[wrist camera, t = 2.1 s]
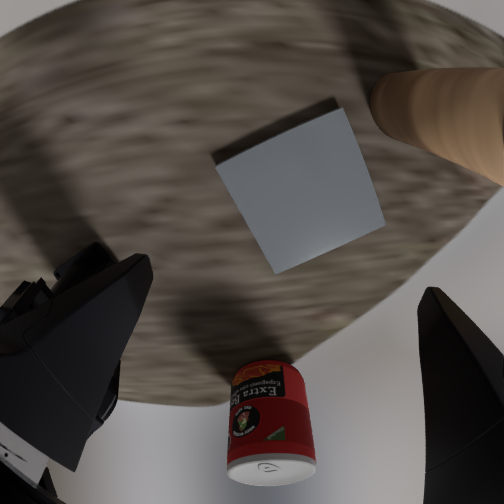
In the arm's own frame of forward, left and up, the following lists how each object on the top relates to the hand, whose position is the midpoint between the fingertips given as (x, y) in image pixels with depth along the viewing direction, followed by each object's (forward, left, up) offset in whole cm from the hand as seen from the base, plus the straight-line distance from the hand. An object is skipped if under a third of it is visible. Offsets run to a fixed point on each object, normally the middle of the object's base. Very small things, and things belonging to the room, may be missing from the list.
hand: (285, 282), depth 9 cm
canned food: (-9, -19, -13) cm, 25 cm away
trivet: (+2, -2, -12) cm, 13 cm away
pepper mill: (+11, +1, -12) cm, 17 cm away
